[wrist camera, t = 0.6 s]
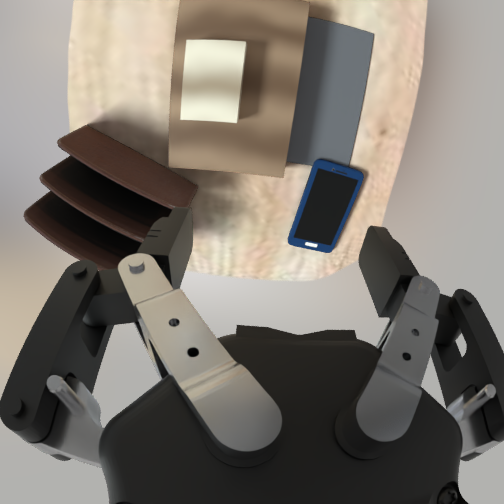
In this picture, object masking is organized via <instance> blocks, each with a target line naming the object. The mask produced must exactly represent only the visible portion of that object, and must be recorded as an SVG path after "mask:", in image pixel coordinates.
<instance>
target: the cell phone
mask: <svg viewBox="0 0 504 504" xmlns="http://www.w3.org/2000/svg"><path fill="white" fill-rule="evenodd" d="M363 178H364V176H363V173H362V172H360V171H359V170H356V169H353V168H350V167H346V166H343V165H340V164H337V163H334V162H330V161H327V160H324V159H317V160H316V161H315V162H314V164H313V166H312V169H311V172H310V175H309V178H308V181H307V184H306V187H305V190H304V193H303V196H302V199H301V202H300V205H299V207H298V210H297V213H296V216H295V219H294V222H293V225H292V228H291V230H290V233H289V237H288V243H289V244H290V245H293V246H297V247H301V248H306V249H311V250H316V251H320V252H325V253H330V252H332V250H333V248H334V246H335V244H336V242H337V240H338V238H339V235H340V233H341V231H342V229H343V226H344V224H345V222H346V220H347V217H348V215H349V213H350V210H351V208H352V206H353V203H354V201H355V199H356V196H357V194H358V191H359V189H360V186H361V184H362V181H363Z"/></svg>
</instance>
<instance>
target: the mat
mask: <svg viewBox="0 0 504 504" xmlns="http://www.w3.org/2000/svg"><path fill="white" fill-rule="evenodd" d="M373 36H374V34H372V33H369V32H366V31H363V30H360V29H357V28H353V27H350V26H346V25H342V24H338V23H335V22H330V21H326V20H322V19H317V18H312V17H308V20H307V28H306V35H305V42H304V49H303V56H302V63H301V70H300V77H299V83H298V90H297V97H296V103H295V110H294V116H293V122H292V129H291V135H290V141H289V147H288V153H287V159H286V162H292V163H299V164H305V165H312V166H313V164H314V162H315V161H316V160H317V159H324V160H327V161H330V162H334V163H337V164H340V165H343V166H346V167H348V166H349V162H350V158H351V154H352V149H353V145H354V141H355V136H356V131H357V127H358V122H359V117H360V112H361V107H362V102H363V97H364V92H365V86H366V81H367V75H368V69H369V63H370V56H371V50H372V43H373Z"/></svg>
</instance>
